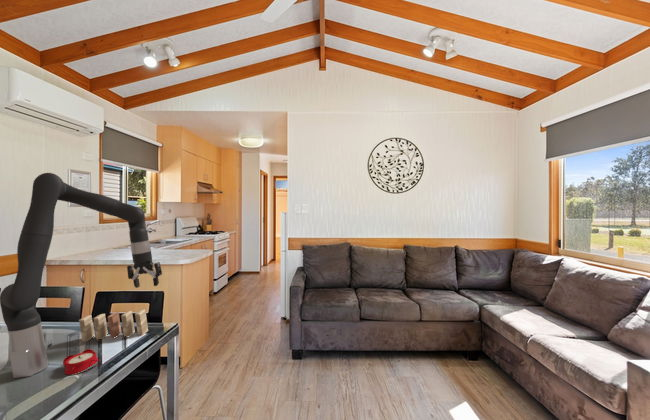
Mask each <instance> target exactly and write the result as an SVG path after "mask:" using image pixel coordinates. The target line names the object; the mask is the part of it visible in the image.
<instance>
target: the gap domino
mask: <svg viewBox="0 0 650 420" xmlns="http://www.w3.org/2000/svg"><path fill="white" fill-rule="evenodd" d="M120 318H121V317H120V312H119V311H118V312H117V311H116V312H113V313H111V314H110V315H108V316H107V323H108V330H109V336H110V339H111V338H114V337H116V336H118V335H119V334H120V333H122V332H123V331H122V326H121V320H120ZM122 334H123V333H122ZM120 335H121V334H120ZM120 335H119V336H120ZM119 336H118V337H119Z"/></svg>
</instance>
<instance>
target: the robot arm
mask: <svg viewBox="0 0 650 420" xmlns="http://www.w3.org/2000/svg"><path fill="white" fill-rule="evenodd" d="M32 182H33V183H32V189H31V190H32V192H31V198H30V205H29V208H28V210H27V214H26V217H25V219H24V222H23V225H22V229H21V232H20V235H19V238H18V243H17V249H16V251H17V252H16V254H17V265H18V266H17V273H16V277H15V279H14V282H13V283H11V284H9V285H7V286H5V287H4V288H3V290H2V291H1V292H0V310H1V314H2V318H3V322H4V323H5V325H6V329H7V334H8V340H9V344H10V345H9V346H10V350H11V351H10V352H8V353H9V354H8V355H9V359H10V360H9V361H10V367H11V372H12V378H14V379H17V378H24V377H26V378H27V377H32V376H33V375H34V374H37V373H40V372H41V371H43V370H46V368H47V367H48V366H49V362H48V355H47V350H46V344H45V337H44V332H43V326H42V319H41V315H40V313H39V312H38V311H37V309H36V306H35V305H36V304H37V302H38V301H39V299H40V295H41V287H42V281H43V280H42V279H43V272H44V268H45V265H46V262H47V258H48V255H49V254H48V253H49V250H50V247H51V244H52V239H53V236H54V226H55V209H56V205H57V203H58V201H62V202H66V203H67V202H68V203H71V204H75V205H79V206H82V207H84V208H87V209H90V210H93V211H96V212H99V213H103V214H105V215H109V216H112V217H115V218H118V219H121V220H124V221H127V224H128V228H129V229H128V230H129V232H128V233H129V239H130V240H129V241H130V251H131V257H132V263H133V264H129V265H127V266H126V268H127V269H126V270H127V277H128V279H129V280H133V282H132V283H133V285H134V288H136V289H137V288H140V287H141V285H140V279H139V278H140V277H139V276H140V275H143V274H144V275H146V274H148V275H149V276H151V277H152V282H153V286H154V287H156V286H158V285H159V283H160V281H159V277H160V276H161V275H163V271H162V267H161V263H160V262H159V261H157V262H153V255H152V248H151V243H150V241H149V234H148V229H147V226H146V224H147V223H146V216H145V215H146V214H145V211H144V210H143V208H142V207H140V206H135V205H131V204H129V203H125V202H122V201H120V200H118V199H115V198H112V197H110V196H106V195H104V194H99V193H96V192H95V193H94V192H91V191H85V190H83V189H79V188H77V187H75V186H72V185H70V184H68V183H66V182H64V181H63V179H62V178H61V177H60V176H58V175H57V174H55V173H53V172H44V173H41V174H39V175H37V176H36V178H34V180H33V181H32ZM134 270H135V272H134Z"/></svg>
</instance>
